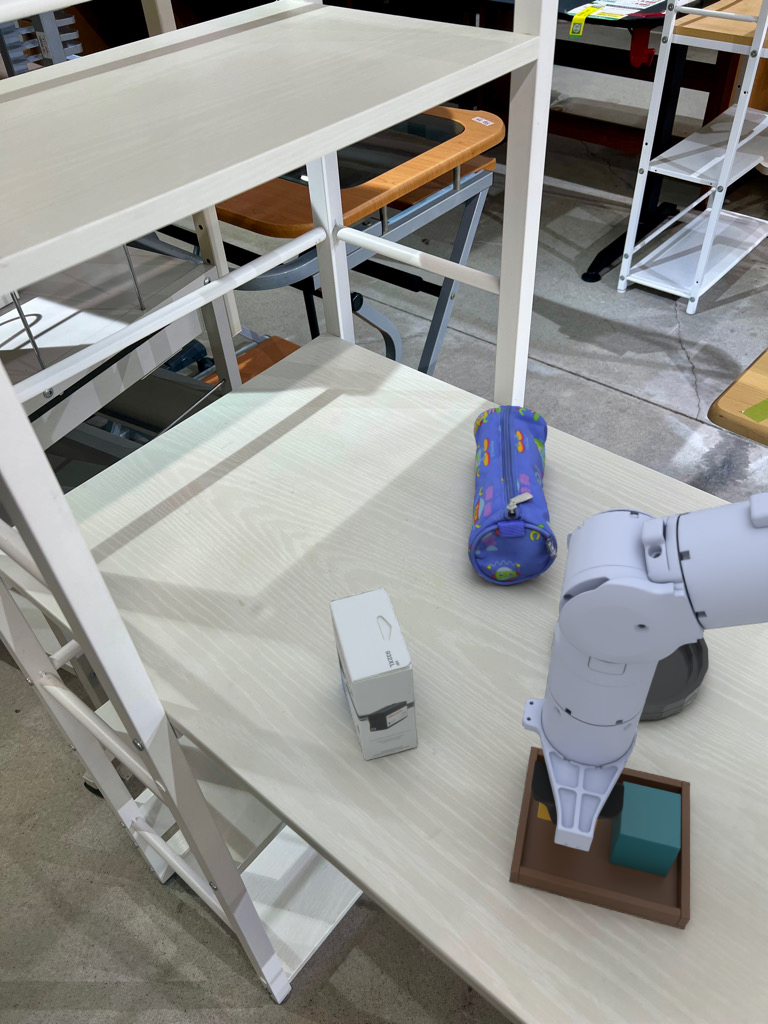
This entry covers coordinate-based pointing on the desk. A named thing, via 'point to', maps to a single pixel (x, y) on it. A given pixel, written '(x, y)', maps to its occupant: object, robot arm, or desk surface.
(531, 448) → the pencil case
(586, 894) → the tray
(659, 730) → the desk surface
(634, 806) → the teal block
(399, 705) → the ink box
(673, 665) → the pan
